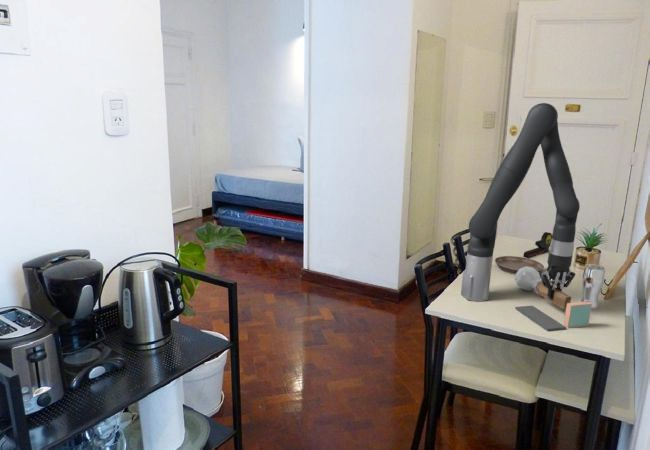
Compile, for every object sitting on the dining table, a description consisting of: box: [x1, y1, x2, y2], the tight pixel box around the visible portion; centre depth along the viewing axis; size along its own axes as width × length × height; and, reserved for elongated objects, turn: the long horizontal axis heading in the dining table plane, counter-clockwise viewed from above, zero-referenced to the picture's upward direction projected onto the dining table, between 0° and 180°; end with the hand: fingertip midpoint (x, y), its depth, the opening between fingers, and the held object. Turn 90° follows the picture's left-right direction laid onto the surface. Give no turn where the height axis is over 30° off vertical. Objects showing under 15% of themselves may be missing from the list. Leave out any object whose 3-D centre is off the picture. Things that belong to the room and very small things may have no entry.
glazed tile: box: [563, 301, 592, 329], centre depth 167 cm, size 8×2×8 cm, turn 103°
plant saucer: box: [494, 255, 545, 275], centre depth 223 cm, size 21×21×3 cm
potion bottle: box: [514, 266, 546, 299], centre depth 196 cm, size 9×10×15 cm
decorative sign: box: [523, 231, 553, 259], centre depth 246 cm, size 27×2×10 cm, turn 129°
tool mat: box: [514, 305, 567, 332], centre depth 172 cm, size 7×18×1 cm, turn 13°
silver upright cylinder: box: [580, 263, 606, 309], centre depth 183 cm, size 7×7×15 cm
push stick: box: [538, 282, 572, 310], centre depth 178 cm, size 2×14×4 cm, turn 13°
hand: (553, 298), depth 178 cm, fingers closed on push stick, 2 cm apart
